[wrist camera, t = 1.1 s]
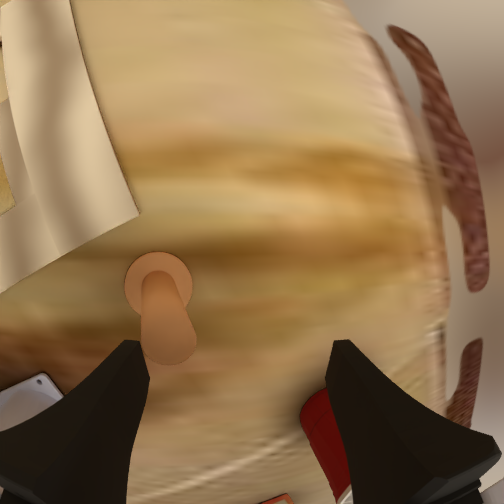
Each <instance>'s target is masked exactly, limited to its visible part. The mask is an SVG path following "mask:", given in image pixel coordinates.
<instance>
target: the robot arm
mask: <svg viewBox="0 0 504 504" xmlns="http://www.w3.org/2000/svg"><path fill="white" fill-rule="evenodd" d="M38 380H41V381H42V382H39V381H38ZM325 380H326V386H327V392H328V397H329V401H330V405H331V408H332V411H333V414H334V417H335V420H336V423H337V426H338V429H339V433H340V436H341V439H342V442H343V445H344V449H345V453H346V457H347V463H348V469H349V474H350V481H351V489H352V497H353V504H504V478H503V479H501V480H500V481H498V482H497V483H495V484H494V485H492V486H490V487H489V488H487V489H486V490H484V491H483V492H481V493H480V492H479V490H478V488H479V487H480V486H481V482H480V480H479V478H480V477H481V476H482V475H484V474H485V473H486V472H487V471H488V470H489V469H490V468H492V467H493V466H494V465H495V464H496V463H497V462H498V460H499V459H500V457H501V455H502V453H501V451H500V449H499V447H498V445H497V444H496V442H495V440H494V438H493V437H492V436H490V435H487V434H484V433H480V432H477V431H474V430H471V429H469V428H466V427H464V426H461V425H459V424H457V423H455V422H452V421H450V420H448V419H446V418H444V417H443V416H441V415H439V414H437V413H435V412H434V411H432V410H430V409H429V408H427V407H425V406H424V405H422V404H421V403H420V402H418V401H417V400H415V399H414V398H412V397H411V396H410V395H408V394H407V393H406V392H404V391H403V390H402V389H401V388H400V387H398V386H397V385H396V384H395V383H394V382H392V381H391V380H390V379H389V378H388V377H387V376H386V375H385V374H383V373H382V372H381V371H380V370H379V369H378V368H377V367H376V366H375V365H374V364H373V363H372V362H371V361H370V360H369V359H368V358H367V357H366V356H365V355H364V354H363V353H362V352H361V351H360V350H359V349H358V348H357V347H356V346H355V345H354V344H353V343H352V342H351V341H350V340H349V339H347V340H335V341H334V342H333V347H332V351H331V355H330V360H329V364H328V368H327V372H326V376H325ZM149 381H150V376H149V373H148V370H147V366H146V363H145V359H144V356H143V352H142V348H141V345H140V341H135V340H124V341H123V342H122V343H121V344H120V345H119V346H118V347H117V348H116V349H115V350H114V351H113V352H112V353H111V354H110V355H109V356H108V357H107V358H106V359H105V360H104V361H103V362H102V363H101V364H100V365H99V366H98V367H97V368H96V369H95V370H94V371H93V372H92V373H91V374H90V375H89V376H88V377H86V378H85V379H84V380H83V381H82V382H81V383H80V384H79V385H77V386H76V387H75V388H74V389H73V390H72V391H70V392H69V393H68V394H67V395H65V396H63V395H62V393H61V392H60V391H59V390H58V388H57V387H56V386H55V384H54V383H53V382H52V381H51V379H50V378H49V376H48V375H46V374H45V373H40V374H38V375H36V376H34V377H32V378H30V379H27V380H25V381H23V382H21V383H19V384H17V385H14V386H12V387H10V388H8V389H6V390H3V391H1V392H0V504H126V495H127V483H128V473H129V465H130V458H131V453H132V448H133V444H134V441H135V437H136V434H137V430H138V427H139V423H140V420H141V417H142V413H143V410H144V407H145V403H146V399H147V393H148V387H149Z"/></svg>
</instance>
